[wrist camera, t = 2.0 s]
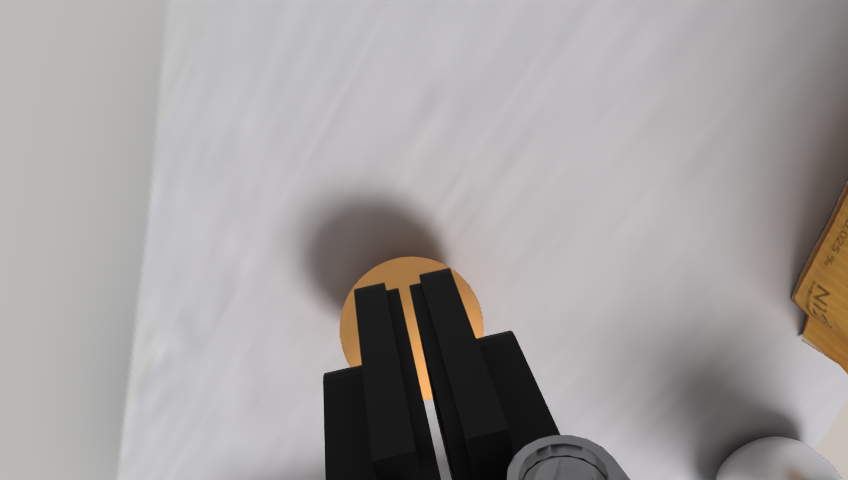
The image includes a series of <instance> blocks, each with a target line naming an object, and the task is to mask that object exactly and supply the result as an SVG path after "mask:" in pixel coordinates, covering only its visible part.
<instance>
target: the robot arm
mask: <svg viewBox="0 0 848 480" xmlns="http://www.w3.org/2000/svg"><path fill="white" fill-rule="evenodd" d="M419 277H420V283H417V284H413V285H409V288H410V293H411V298H412V303H413V307H414V312H415V317H416V321H417V326H418V331H419V335H420V340H421V345H422V350H423V354H424V359H425V364H426V368H427V373H428V378H429V382H430V387H431V392H432V397H433V401H434V406H435V410H436V415H437V419H438V424H439V428H440V432H441V436H442V440H443V444H444V449H445V453H446V457H447V461H448V465H449V470H450V474H451V478H452V480H630V479H629V478H628V476H627V475H626V474H625V472H624V471H623V470H622V468H621V467H620V466H619V464H618V463H617V462H616V461H615V459H614V458H613V457H612V456H611V455H610V454H609V453H608V452H607V451H606V450H605V449H604V448H603V447H601V446H599V445H597V444H596V443H594V442H592V441H590V440H588V439H584V438H580V437H576V436H572V435H560V433H559V431H558V429H557V427H556V424H555V422H554V420H553V418H552V416H551V413H550V411H549V409H548V407H547V405H546V403H545V400H544V398H543V396H542V394H541V392H540V389H539V387H538V385H537V383H536V381H535V379H534V376H533V374H532V372H531V370H530V368H529V365H528V363H527V361H526V359H525V357H524V355H523V352H522V350H521V348H520V346H519V344H518V341H517V339H516V337H515V335H514V334H513V332H512V331H507V332H502V333H498V334H494V335H489V336H485V337H481V338H476V337H475V334H474V331H473V329H472V326H471V323H470V321H469V318H468V315H467V312H466V310H465V307H464V304H463V302H462V299H461V296H460V293H459V291H458V288H457V285H456V283H455V280H454V277H453V274H452V272H451V269H450V268H446V269H442V270H437V271H433V272H428V273H424V274H419ZM354 298H355V308H356V317H357V326H358V336H359V345H360V354H361V364H362V365H359V366H354V367H350V368H346V369H341V370H337V371H333V372H328V373H325V374H324V377H323V391H324V431H325V472H326V480H441V478H440V473H439V469H438V464H437V460H436V455H435V451H434V446H433V442H432V437H431V433H430V428H429V424H428V419H427V414H426V410H425V405H424V401H423V396H422V392H421V387H420V383H419V378H418V374H417V369H416V365H415V360H414V356H413V351H412V347H411V342H410V338H409V333H408V329H407V324H406V320H405V315H404V311H403V306H402V302H401V297H400V293H399V288H395V289H391V290H386V286H385V282H384V283H379V284H375V285H370V286H366V287H361V288H357V289H354Z"/></svg>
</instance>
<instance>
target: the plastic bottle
mask: <svg viewBox="0 0 848 480" xmlns="http://www.w3.org/2000/svg"><path fill="white" fill-rule="evenodd" d="M716 480H843V479H842V477H841V476H840V474H839V473H838V471H837V470H836V469H835V467H834V466H833V465H832V464H831V463H830V462H829V461H828V460H827V459H826V458H825V457H823V456H822V455H821V454H819V453H818V452H817V451H816V450H815V449H813V448H812V447H811V446H809V445H808V444H806V443H804V442H801V441H797V440H794V439H790V438H786V437H779V436H774V437H766V438H761V439H758V440H755V441H752V442H750V443H748V444H746V445H744V446H742V447H740V448H739V449H737V450H736V451H734V452H733V453H732V454H731V455H730V456H729V457H728V458H727V459H726V460H725V461H724V462H723V464H722V465H721V467H720V468H719V470H718V473H717V476H716Z"/></svg>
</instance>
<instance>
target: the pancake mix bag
mask: <svg viewBox="0 0 848 480" xmlns="http://www.w3.org/2000/svg"><path fill="white" fill-rule="evenodd" d="M791 300H792V301H793V302H794V303H795V304H796V305H797V306H799V307H800V308H801V309H802V310H803V311H804V312H805V313H806V314H807V317H806V322H805V326H804V331H803V336H802V340H801V341H803V342H805V343H806V344H808V345H809V346H811V347H813V348H814V349H816V350H817V351H819V352H821V353H822V354H824V355H825V356H827V357H828V358H830V359H832V360H833V361H835V362H836V363H838V364H839V365H840V366H841V367H842V368H843V369H844V370H845V371H846V372H847V374H848V181H847V183H846V185H845V187H844V189H843V191H842V193H841V195H840V197H839V199H838V201H837V204H836V206H835V208H834V210H833V212H832V214H831V217H830V219H829V221H828V223H827V225H826V227H825V228H824V230H823V232H822V234H821V235H820V237H819V239H818V241H817V242H816V244H815V246H814V248H813V249H812V251H811V254H810V256H809V258H808V260H807V262H806V264H805V266H804V268H803V270H802V272H801V274H800V276H799V279H798V281H797V284H796V287H795V290H794V292H793V295H792V298H791Z"/></svg>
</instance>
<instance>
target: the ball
mask: <svg viewBox="0 0 848 480" xmlns="http://www.w3.org/2000/svg"><path fill="white" fill-rule="evenodd" d="M446 268H449V267H448V266H446V265H444V264H442V263H440V262H438V261H435V260H432V259H428V258H422V257H400V258H395V259H392V260H388V261H386V262H383V263H381V264H379V265H377V266H376V267H374V268H372V269H371V270H370V271H368V272H367V273H366V274H364V275H363V276H362V277H361V278H360V279H359V280H358V282H357V283H356V284H355V285H354V287H353V288H352V290H351V291H350V293H349V295H348V296H347V299H346V301H345V303H344V307H343V310H342V314H341V320H340V339H341V344H342V349H343V352H344V355H345V357H346V360H347V362H348V364H349V365H350V367H354V366H359V365H362V364H361V354H360V345H359V336H358V326H357V317H356V308H355V298H354V289H357V288H361V287H366V286H370V285H375V284H379V283H384V282H385V286H386V290H391V289H395V288H399V293H400V297H401V302H402V306H403V311H404V315H405V320H406V324H407V329H408V333H409V338H410V342H411V347H412V351H413V356H414V360H415V365H416V369H417V374H418V378H419V383H420V387H421V392H422V396H423V400H428V399H431V398H433V397H432V392H431V387H430V382H429V378H428V373H427V368H426V364H425V359H424V354H423V350H422V345H421V340H420V335H419V331H418V326H417V321H416V317H415V312H414V307H413V303H412V298H411V293H410V288H409V285H413V284H417V283H420V277H419V274H424V273H428V272H433V271H437V270H442V269H446ZM450 269H451V268H450ZM451 272H452V274H453V277H454V280H455V283H456V285H457V288H458V291H459V293H460V296H461V299H462V302H463V304H464V307H465V310H466V312H467V315H468V318H469V321H470V323H471V326H472V329H473V331H474V334H475V337H476V338H481V337H483V317H482V313H481V309H480V305H479V303H478V300H477V298H476V296H475V294H474V292H473V291H472V289H471V287H470V286H469V285H468V284H467V282H466V281H465V280H464V279H463V278H462V277H461V276H460V275H459V274H458V273H457V272H456V271H454V270H452V269H451Z"/></svg>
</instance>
